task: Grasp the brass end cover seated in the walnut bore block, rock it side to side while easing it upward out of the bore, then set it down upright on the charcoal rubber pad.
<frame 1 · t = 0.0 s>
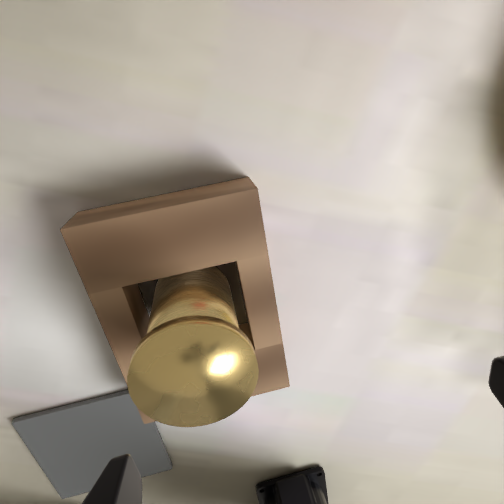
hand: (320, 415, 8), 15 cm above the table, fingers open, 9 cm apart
bore block: (193, 295, 23), on the table
felt pad: (99, 443, 27), on the table
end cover: (193, 329, 19), in the bore block
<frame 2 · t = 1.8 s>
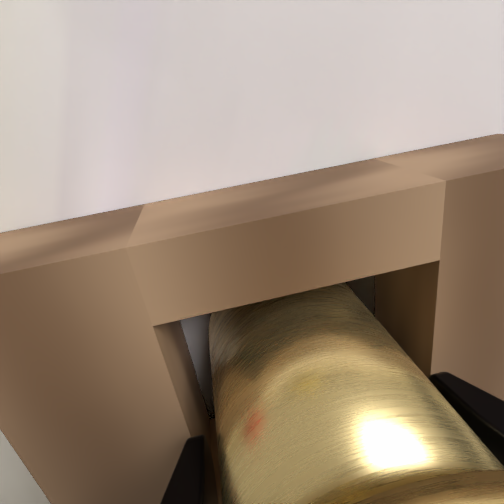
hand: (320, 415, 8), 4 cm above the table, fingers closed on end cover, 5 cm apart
bore block: (284, 328, 11), on the table
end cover: (326, 428, 8), in the bore block, touching gripper
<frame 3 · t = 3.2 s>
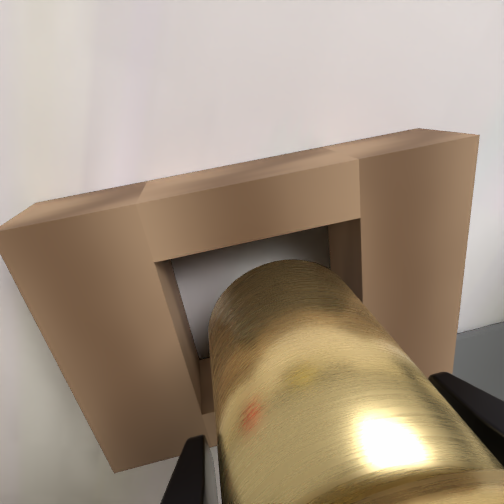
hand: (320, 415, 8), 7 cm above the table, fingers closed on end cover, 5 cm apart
bore block: (257, 283, 14), on the table
felt pad: (472, 391, 20), on the table
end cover: (325, 428, 8), point 7 cm above the table, touching gripper
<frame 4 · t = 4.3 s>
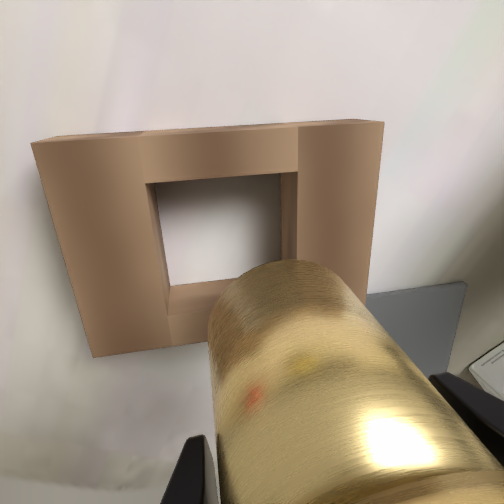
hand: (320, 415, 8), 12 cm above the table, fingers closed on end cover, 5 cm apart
bore block: (222, 226, 18), on the table
felt pad: (391, 346, 24), on the table
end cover: (325, 428, 8), point 12 cm above the table, touching gripper
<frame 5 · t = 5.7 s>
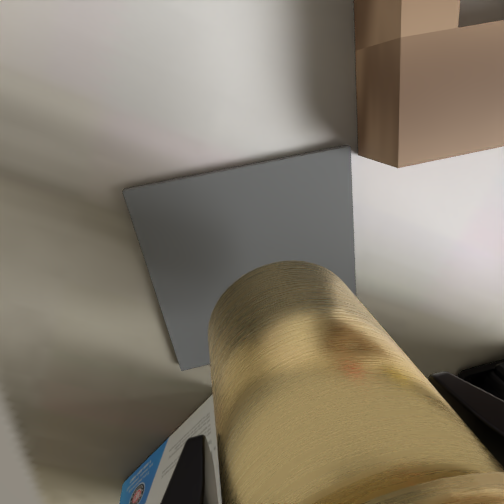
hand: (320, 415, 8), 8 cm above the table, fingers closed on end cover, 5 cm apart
ink box: (200, 448, 20), on the table
felt pad: (255, 265, 16), on the table
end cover: (326, 429, 8), point 8 cm above the table, touching gripper
when the fingers open (5 cm above the table, at t = 6.7 s): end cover drops 1 cm, resting on felt pad.
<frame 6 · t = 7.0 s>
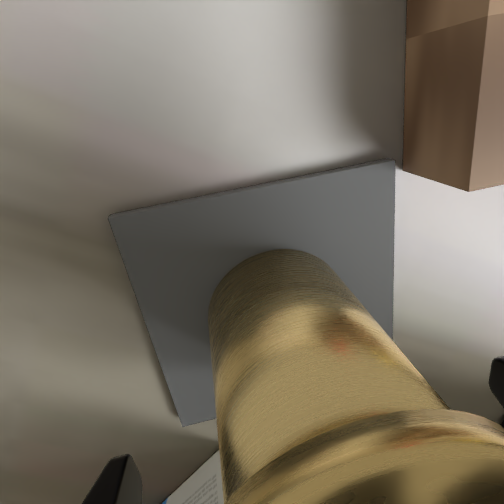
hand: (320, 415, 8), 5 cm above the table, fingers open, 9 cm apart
felt pad: (273, 303, 13), on the table
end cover: (312, 397, 9), on the felt pad
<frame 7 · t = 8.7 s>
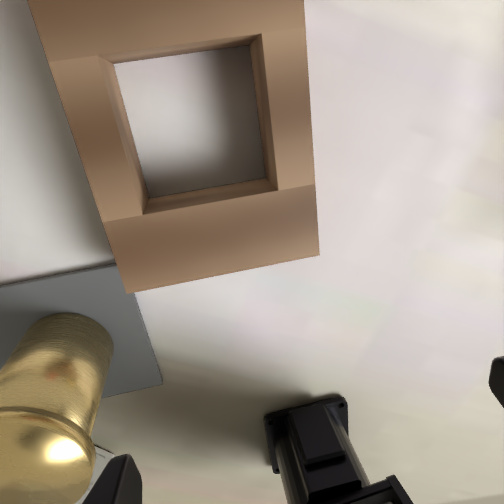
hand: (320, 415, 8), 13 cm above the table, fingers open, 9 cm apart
bore block: (196, 126, 17), on the table
ink box: (54, 472, 25), on the table
felt pad: (70, 341, 21), on the table
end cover: (45, 399, 17), on the felt pad
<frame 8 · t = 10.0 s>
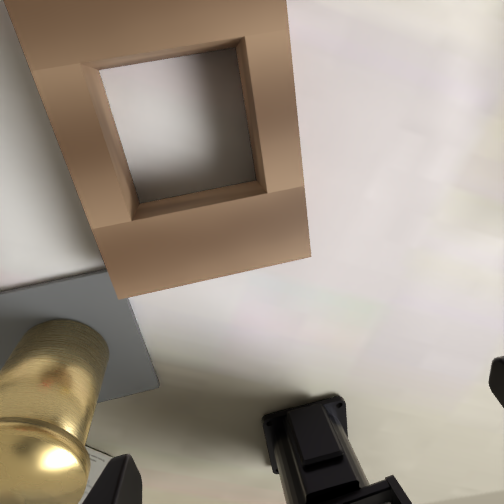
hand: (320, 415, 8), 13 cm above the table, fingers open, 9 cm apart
bore block: (184, 130, 17), on the table
ink box: (55, 476, 25), on the table
felt pad: (66, 347, 21), on the table
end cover: (41, 407, 17), on the felt pad
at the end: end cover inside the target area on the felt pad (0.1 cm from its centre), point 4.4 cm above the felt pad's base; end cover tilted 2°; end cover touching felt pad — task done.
